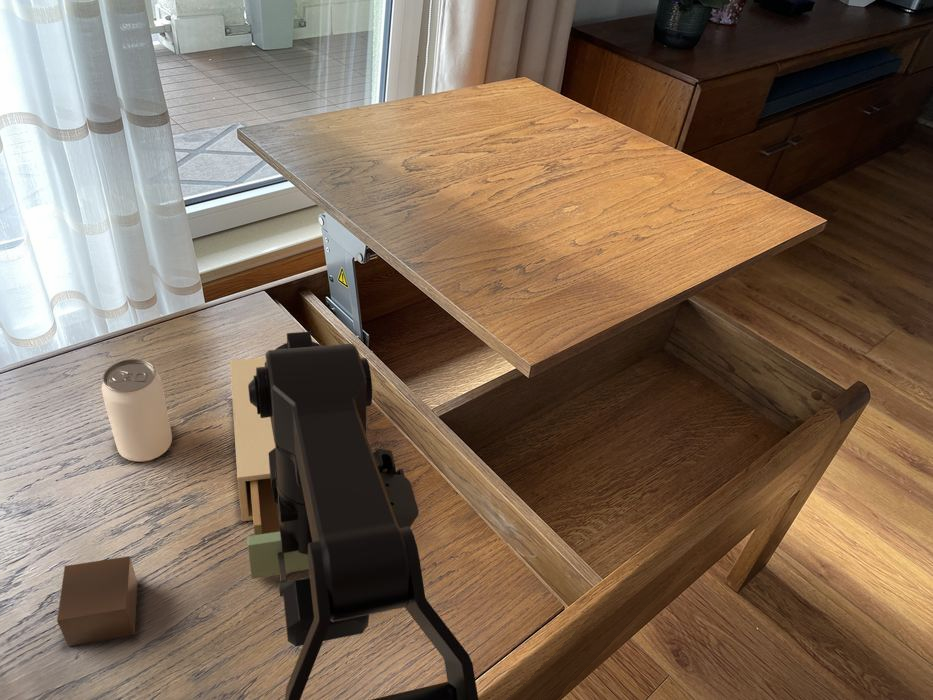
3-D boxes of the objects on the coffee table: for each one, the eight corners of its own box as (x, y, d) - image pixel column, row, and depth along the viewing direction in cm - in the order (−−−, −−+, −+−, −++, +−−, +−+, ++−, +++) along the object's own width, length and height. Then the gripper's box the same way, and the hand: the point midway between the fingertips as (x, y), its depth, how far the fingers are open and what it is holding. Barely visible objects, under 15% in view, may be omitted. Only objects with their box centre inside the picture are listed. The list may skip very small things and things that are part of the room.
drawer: (363, 600, 77) (366, 568, 73) (254, 620, 74) (250, 587, 70) (332, 440, 94) (333, 407, 90) (242, 451, 91) (239, 416, 86)
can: (124, 424, 92) (107, 355, 85) (177, 425, 93) (164, 357, 86) (111, 463, 87) (91, 393, 80) (167, 464, 89) (152, 395, 81)
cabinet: (349, 506, 88) (351, 463, 82) (242, 521, 84) (237, 477, 79) (327, 395, 101) (328, 352, 96) (234, 404, 98) (230, 360, 92)
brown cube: (134, 634, 72) (126, 608, 69) (68, 646, 70) (56, 620, 67) (137, 582, 76) (129, 555, 73) (75, 592, 75) (64, 565, 71)
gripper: (442, 560, 52) (422, 664, 62) (391, 386, 65) (381, 494, 75) (285, 588, 49) (290, 692, 58) (264, 398, 62) (271, 509, 72)
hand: (314, 585), depth 66 cm, fingers open, 9 cm apart
